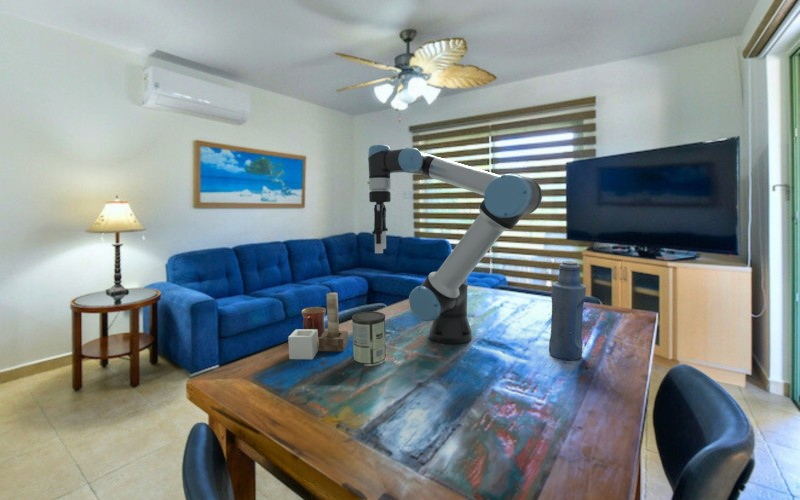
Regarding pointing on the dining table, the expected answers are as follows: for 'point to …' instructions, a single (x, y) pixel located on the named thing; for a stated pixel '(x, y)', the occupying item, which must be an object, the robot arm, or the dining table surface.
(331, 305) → the dowel
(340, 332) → the socket block
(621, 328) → the dining table surface
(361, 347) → the coffee can
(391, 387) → the dining table surface
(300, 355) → the white hollow square frame
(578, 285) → the bottle
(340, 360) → the dining table surface
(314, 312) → the mug
